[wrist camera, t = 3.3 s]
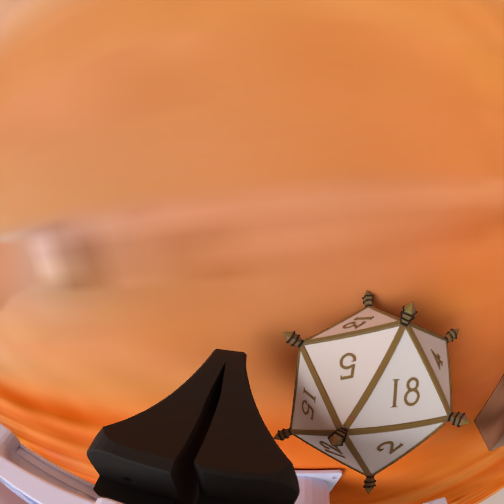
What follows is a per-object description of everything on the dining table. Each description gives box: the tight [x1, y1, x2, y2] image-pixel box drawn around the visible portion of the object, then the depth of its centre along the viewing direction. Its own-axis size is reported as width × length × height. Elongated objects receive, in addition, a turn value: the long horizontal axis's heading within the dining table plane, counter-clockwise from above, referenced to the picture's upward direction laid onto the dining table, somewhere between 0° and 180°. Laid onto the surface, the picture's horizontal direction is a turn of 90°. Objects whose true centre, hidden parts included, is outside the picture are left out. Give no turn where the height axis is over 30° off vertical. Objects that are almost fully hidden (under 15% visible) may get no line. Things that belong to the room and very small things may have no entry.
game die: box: [273, 290, 470, 494], centre depth 11 cm, size 9×8×10 cm
